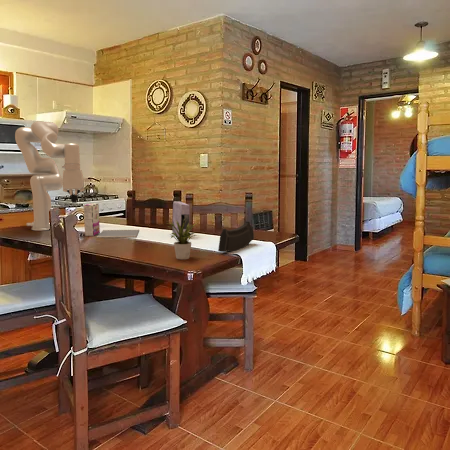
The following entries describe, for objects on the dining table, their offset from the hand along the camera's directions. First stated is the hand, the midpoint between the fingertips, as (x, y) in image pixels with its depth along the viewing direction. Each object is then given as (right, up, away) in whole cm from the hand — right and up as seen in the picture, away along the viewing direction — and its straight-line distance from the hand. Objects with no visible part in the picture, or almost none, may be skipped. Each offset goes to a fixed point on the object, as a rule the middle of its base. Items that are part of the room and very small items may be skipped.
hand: (74, 202), depth 235 cm
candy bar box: (+8, -17, +4) cm, 19 cm away
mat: (+22, -17, +5) cm, 28 cm away
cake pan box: (+56, -18, +2) cm, 59 cm away
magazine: (+85, -23, -34) cm, 94 cm away
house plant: (+61, -25, -56) cm, 86 cm away
